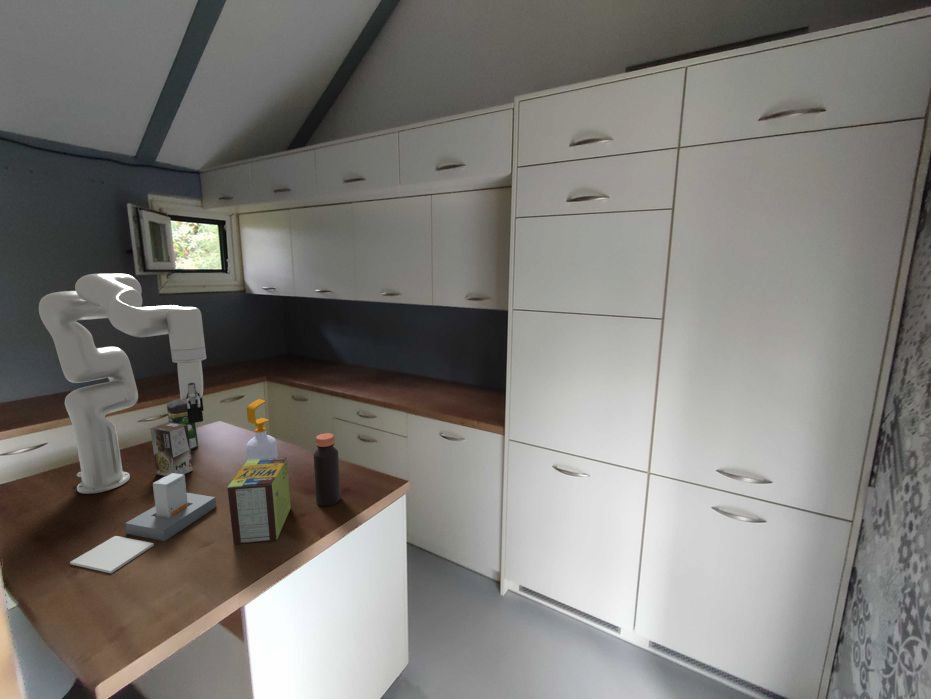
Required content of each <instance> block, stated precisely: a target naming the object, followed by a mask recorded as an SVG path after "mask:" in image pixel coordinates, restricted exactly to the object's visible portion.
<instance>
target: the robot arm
mask: <svg viewBox="0 0 931 699" xmlns="http://www.w3.org/2000/svg"><path fill="white" fill-rule="evenodd" d="M74 289H75V290H64V291H57V292H56V291H55V292H51V293H48V294H46V295H44V296H43V297H42V298H41V299H40V301H39V303H38V313H39V316H40V317H39V318H40V319H41V321H42V323H43V325H44V327H45V329H46V330H47V332H48V334H50V336H51V338H52V340H53V343H54V347H55V349H56V350H55V351H56V353H57V356H58V360H59V364H60V366H61V370H62V373H63V375H64V378H65V379H66V380H67V381H68V382H70V383H73V384H79V383H80V384H81V383H87V382H92V381H98V380H103V379H108V380H109V381H107V382H102V383H101V382H100V383H97V384H96V383H95V384H92V385H87V386H83V387H79V388H77V389H76V388H75V389H74V390H71V391H70V393H68V394H67V395H66V396H65V399H64V406H65V409H66V412H67V413H68V416H69V419H70V421H71V425H72V428H73V432H74V437H75V443H76V448H77V454H78V459H79V460H78V461H79V467H80V471H79V472H77V474H76V476H77V477H79V478H81V481H80V483H78V485H77V486H76V490H77V492H78V493H79V494H84V495H85V494H87V495H90V494H98V493H99V494H100V493H104V492H107V491H110V490H113V489H115V488H118V487H121V486H122V485H124V484H126V483H127V482H128V481H130V478H131V477H130V473H129V472H127V471H124V470H123V466H122V465H123V464H122V457H121V450H120V445H119V438H118V432H117V428H116V425H115V424H114V422H112V421H111V420H110V419H108V418H106V415H108V414H111V413H115V412H118V411H122V410H125V409H128V408H129V409H130V408H131V407H133V406H134V405H136V404H137V402H138V399H139V393H138V392H139V390H138V388H137V384H136V380H135V376H134V373H133V372H134V371H133V369H132V364H131V362H130V359H129V357H128V355H127V354H126V352H125V350H123V349H122V348H119V347H118V346H104V347H103V346H102V347H96V345H95V342H94V338H93V334H92V333H91V332H90V331H89V329H87V328H86V327H85V326H83V324H81V323H80V322H78V321H85V320H98V319H108V320H109V322H110V323H111V325H112V326H113V327H114V328H115V329H117V330H118V331H120V332H122V333H124V334H126V335H128V336H132V337H136V338H147V337H154V336H161V335H162V336H163V335H168V337H169V346H170V353H171V354H170V355H171V360H172V363H177V365H176V366H177V377H178V378H177V379H178V385H179V387H178V388H179V395H180V398H179V399H181V400H184V399H186V400H187V406H188V408H187V413H188V421H189V423H195V424H196V423H202V422H204V415H203V412H204V410H205V408H204V401H203V394H204V393H203V392H204V374H203V366H202V361H204V360H206V359H207V353H206V352H207V351H206V343H205V335H204V325H203V318H202V312H201V310H200V309H199V308H198V307H194V306H179V305H175V304H173V305H172V304H169V305H167V304H166V305H156V306H155V305H154V306H142V305H143V297H142V291H143V290H142V286H141V283H140V282H139V281H138V280H137V279H136V278H135V277H134V276H132V275H130V274H127V273H91V274H86V275H83V276H81V277H80V278H79V279H77V281H76V282H75V285H74Z"/></svg>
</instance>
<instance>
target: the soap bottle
mask: <svg viewBox="0 0 931 699" xmlns="http://www.w3.org/2000/svg"><path fill="white" fill-rule="evenodd" d="M265 403H266V400H264V399H261V398H257V399H256V400H254V401H253V402H251V403H248V405H247V406H246V415H247V418H246V420H247V422H248V423H251V424H254V425H255V426H256V428H255V429H254V434H255V435H254V437H252V438H251V439H249V440H248V442H247V443H246V457H247V460H253V459H270V458H279V457H278V448H277V447H278V444H277V439H276V438H275V437H274V436H271V435H268V434H267V430H266V429H267V428H266V427H264V426H265V424H266V423H267V422H270V421H269V419H268V418H264V417H261V418H257V417H256V409H258V408H259V407H260V406H262V405H264V404H265ZM256 418H257V419H256Z"/></svg>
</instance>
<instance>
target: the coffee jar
mask: <svg viewBox="0 0 931 699" xmlns="http://www.w3.org/2000/svg"><path fill="white" fill-rule="evenodd" d="M187 408H188V406H187V398H186V399H184V400H181V398H176V399H171V400H170V401H169V402H168V403H167V404H166V409H167V410H166V411H167V420H168V422H171V423H178V424H185V425H188V433H189V442H190V450H193V449H195V448H198V445H199V441H198V432H197V426H196V425H197V424H196V423H189V421H188V413H187Z"/></svg>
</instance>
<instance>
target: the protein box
mask: <svg viewBox="0 0 931 699" xmlns="http://www.w3.org/2000/svg"><path fill="white" fill-rule="evenodd" d="M288 464H289V463H288V457H278V458H270V459H253V460H248V459H247V460H246V462H245V463H244V465H243V466H242V467H241V469H240V470H239V471H238V472H237V474H236V475H235V476H234V477H233V479H232V480H231V482H230V483H229V484H228V485H227V497H228V505H229V515H230V516H229V517H230V524H231V525H230V526H231V533H232V542H233V545H241V544H252V543H260V542H261V543H262V542H271V541H277V540H278V539H279V536H280V534H281V531H282V529H283V527H284V524H285V522H286V519H287V518H288V515H289V513H290V510H291V506H292V505H291V491H290V490H291V489H290V479H289V467H288Z"/></svg>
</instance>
